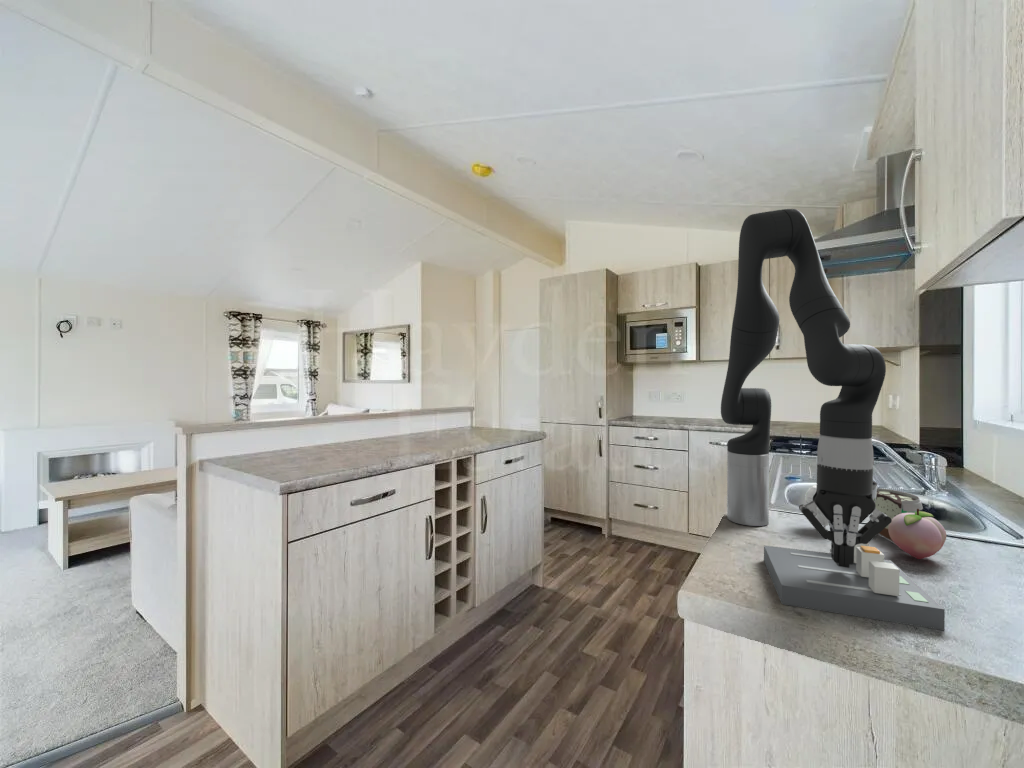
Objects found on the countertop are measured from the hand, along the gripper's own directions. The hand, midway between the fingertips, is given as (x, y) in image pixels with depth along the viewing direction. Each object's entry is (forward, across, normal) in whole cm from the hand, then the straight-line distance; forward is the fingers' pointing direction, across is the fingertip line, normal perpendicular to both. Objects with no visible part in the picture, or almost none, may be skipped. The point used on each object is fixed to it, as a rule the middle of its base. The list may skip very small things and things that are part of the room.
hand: (841, 565), depth 75 cm
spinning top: (+4, -6, -34) cm, 35 cm away
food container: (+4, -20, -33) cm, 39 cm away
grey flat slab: (+4, 0, 0) cm, 4 cm away
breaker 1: (+1, -4, -6) cm, 7 cm away
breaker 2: (+1, -4, +6) cm, 7 cm away
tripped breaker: (+1, -4, 0) cm, 4 cm away
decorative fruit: (+4, -18, -21) cm, 28 cm away
